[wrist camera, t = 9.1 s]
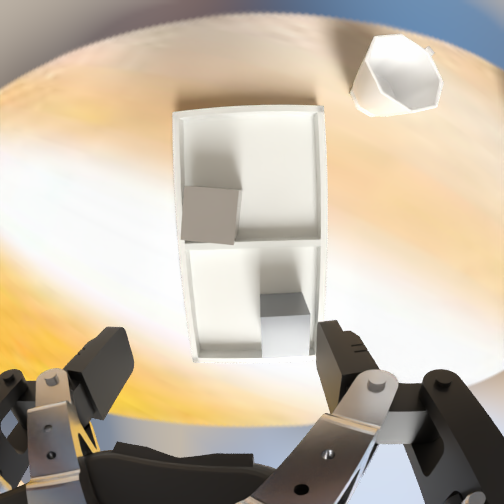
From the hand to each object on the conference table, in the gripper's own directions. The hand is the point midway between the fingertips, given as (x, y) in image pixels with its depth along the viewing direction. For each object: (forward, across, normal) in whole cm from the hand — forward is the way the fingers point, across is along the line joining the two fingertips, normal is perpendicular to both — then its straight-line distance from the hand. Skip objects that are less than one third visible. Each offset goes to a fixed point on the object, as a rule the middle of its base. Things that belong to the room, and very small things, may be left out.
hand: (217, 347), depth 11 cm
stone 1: (+16, +2, -4) cm, 16 cm away
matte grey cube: (+16, -4, +6) cm, 17 cm away
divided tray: (+16, -1, -1) cm, 16 cm away
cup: (+16, -15, -16) cm, 27 cm away
